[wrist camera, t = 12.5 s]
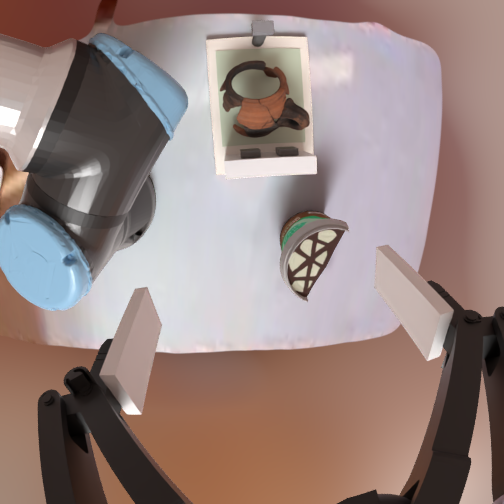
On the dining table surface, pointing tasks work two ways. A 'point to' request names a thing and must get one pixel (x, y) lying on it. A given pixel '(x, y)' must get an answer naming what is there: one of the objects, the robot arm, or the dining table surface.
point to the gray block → (261, 31)
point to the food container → (307, 249)
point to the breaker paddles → (279, 150)
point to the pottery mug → (263, 105)
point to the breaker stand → (256, 87)
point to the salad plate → (1, 176)
